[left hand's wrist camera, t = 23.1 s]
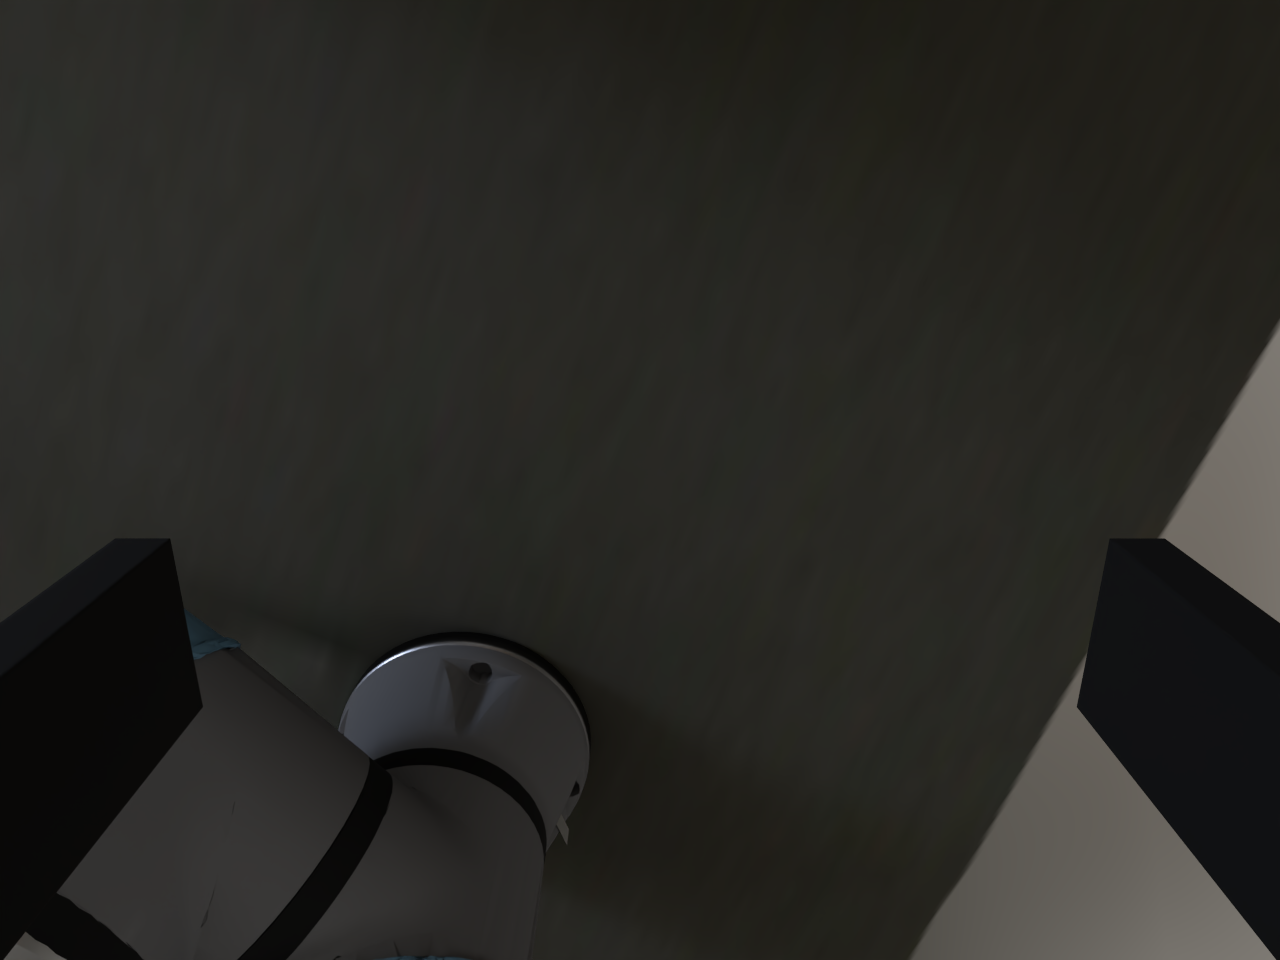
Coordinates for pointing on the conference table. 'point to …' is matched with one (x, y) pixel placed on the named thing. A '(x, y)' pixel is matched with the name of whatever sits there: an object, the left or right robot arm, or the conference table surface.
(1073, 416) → the conference table surface
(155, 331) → the conference table surface
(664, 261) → the conference table surface
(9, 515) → the conference table surface
